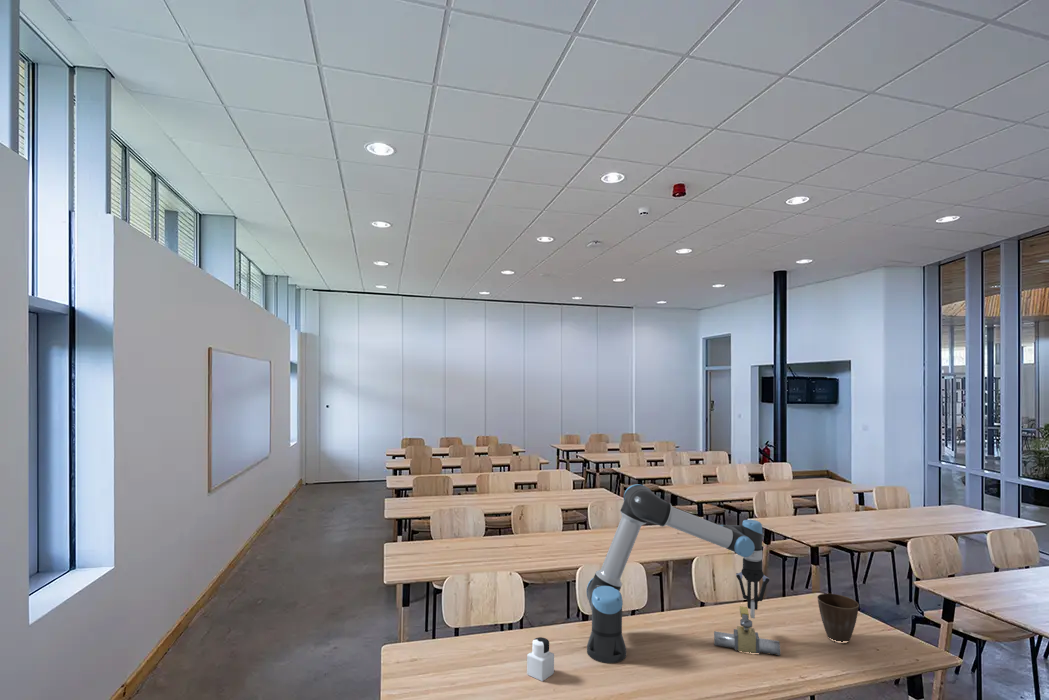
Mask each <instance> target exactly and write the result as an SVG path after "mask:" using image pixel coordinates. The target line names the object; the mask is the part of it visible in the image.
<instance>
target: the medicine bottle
mask: <svg viewBox="0 0 1049 700" xmlns="http://www.w3.org/2000/svg"><path fill="white" fill-rule="evenodd" d="M531 647H532V651H531V652H529V653H528V654H526V675H527V676H529V677H532V678H534V679H536V680H538V681H541V682H544V681H545V680H546V679H548V678H550V677H551V676H553V674H554V673H555V653H553V652H551V651H550V641H549V639H548V638H545V637H536V638H534V639H533V640H532V646H531Z"/></svg>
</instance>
